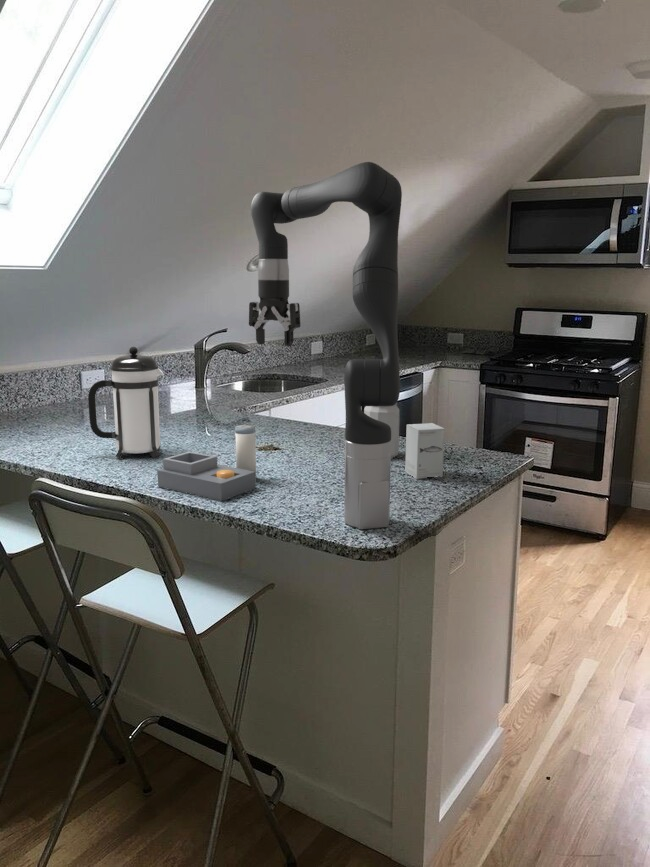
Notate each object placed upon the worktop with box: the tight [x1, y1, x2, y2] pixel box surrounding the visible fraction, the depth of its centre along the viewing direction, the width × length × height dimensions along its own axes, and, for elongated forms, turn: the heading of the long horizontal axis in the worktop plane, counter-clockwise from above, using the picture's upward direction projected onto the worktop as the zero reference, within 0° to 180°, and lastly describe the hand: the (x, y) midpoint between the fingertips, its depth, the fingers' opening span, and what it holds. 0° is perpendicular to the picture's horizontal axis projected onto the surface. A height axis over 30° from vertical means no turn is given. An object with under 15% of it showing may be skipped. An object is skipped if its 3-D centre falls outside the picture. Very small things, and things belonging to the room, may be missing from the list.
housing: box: [156, 451, 257, 502], centre depth 174 cm, size 20×12×6 cm, turn 56°
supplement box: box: [404, 422, 445, 480], centre depth 184 cm, size 7×7×13 cm
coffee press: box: [87, 346, 165, 460], centre depth 202 cm, size 17×16×30 cm
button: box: [217, 470, 234, 479], centre depth 171 cm, size 4×4×4 cm
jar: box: [363, 402, 400, 459], centre depth 203 cm, size 10×10×18 cm
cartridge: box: [234, 424, 257, 480], centre depth 181 cm, size 5×5×13 cm
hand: (274, 345), depth 183 cm, fingers open, 8 cm apart
